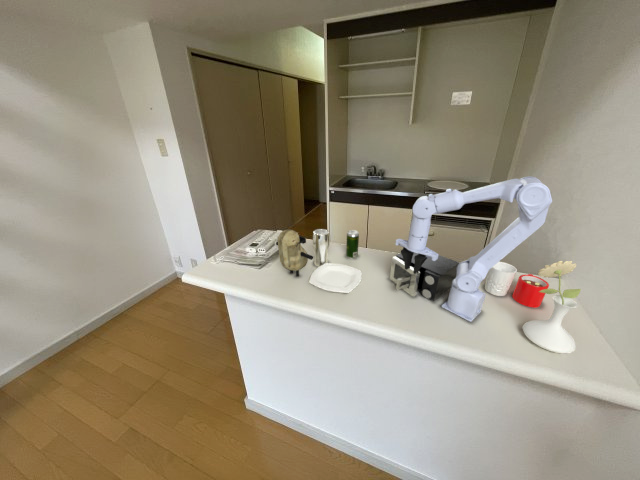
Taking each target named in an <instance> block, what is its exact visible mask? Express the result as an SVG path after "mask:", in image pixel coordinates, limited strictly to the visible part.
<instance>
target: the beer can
mask: <svg viewBox="0 0 640 480" xmlns="http://www.w3.org/2000/svg"><path fill="white" fill-rule="evenodd" d="M359 239H360V234H359V231H358V230H356V229H350V230H347V233H346V246H345V247H346V248H345V256H346V258H348V259H350V260H353V259H357V258H358V256H359V243H360V241H359Z"/></svg>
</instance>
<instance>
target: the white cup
mask: <svg viewBox="0 0 640 480" xmlns="http://www.w3.org/2000/svg"><path fill="white" fill-rule="evenodd" d="M517 271H518V269H517V268H516V267H515V266H514V265H512V264H510V263H508V262H504V261H499V262H498V263H497V264H495V265H494V266H493V267H492V268H491V269H489V271H488V273H487V275H486V277H485V284H484V290H485V291H486V292H488V293H489V294H491V295H494V296H498V297H505V296H506V295H507V294H508V292H509V289H510V288H511V285H512V283H513V281H514V278H515V276H516V275H517Z"/></svg>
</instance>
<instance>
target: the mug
mask: <svg viewBox="0 0 640 480" xmlns="http://www.w3.org/2000/svg"><path fill="white" fill-rule="evenodd" d="M549 287H550V284H549V282H548V281H547V280H546V279H543V278H541V277H540V276H536V275H534V274H532V273H528V274H521V275H519V277H518V279H517V282H516V285H515V287H514V290H513V293H512V295H511V297H512V299H513V301H515V302H516V303H518V304H520V305H522V306H524V307H529V308H539V307H541V306H542V303H543V301H544V299H545V296H546V295H547V294H546V293H542V292H539V291H541V290H543V289H549Z"/></svg>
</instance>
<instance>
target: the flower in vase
mask: <svg viewBox="0 0 640 480" xmlns="http://www.w3.org/2000/svg"><path fill="white" fill-rule="evenodd" d="M576 268H577V263H573V260H566V261H563V260H559V261H557V262H553V263H552V264H546V265H544V268H540V269H539V270H537V272H538V273H537V275H538V276H539V277H540V278H541V277H543V278H548V279H549V278H556V277H558V290H557V289H555V288H548V289H543V290H541V291H539V292H542V293H546V294H545V295H552V296H551V298H552V301H553V304H554V306H553V307H554V308H553V311H552V313H551V316H550V317H549V318H548V319H533V320H529V321H526V322H525V323H523V324H522V331H523V333H524V335H525V336H526V338H527V339H528V340H529V341H531V343H533V344H534V345H536V346H538V347H540V348H541V349H544V350H546V351H549V352H552V353H556V354H570V353H573V352H575V351H576V350H577V349H576V347H577V346H576V345H577V344H576V341H575V339H574V338H573V336H572V335H571V334H570V333H569V332H568V331H567V330H566V329H565V328H564V327H563V325H562V321H563V319H564V318H565V316H566V314H567V313H569V312H570V311H571V310H572V309H575V308H578V307H579V304H578V302H577V301H575V300H574V299H576V298H577V297H578V296H579V295H580V293H581V288H569V289H564V291H563V292H562V291H561V285H562V283H561V282H562V279H561V278H562V276H564V275H567V274H569V273H572V272H573V271H574V270H575V269H576ZM557 293H558V294H557ZM553 294H554V295H553Z"/></svg>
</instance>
